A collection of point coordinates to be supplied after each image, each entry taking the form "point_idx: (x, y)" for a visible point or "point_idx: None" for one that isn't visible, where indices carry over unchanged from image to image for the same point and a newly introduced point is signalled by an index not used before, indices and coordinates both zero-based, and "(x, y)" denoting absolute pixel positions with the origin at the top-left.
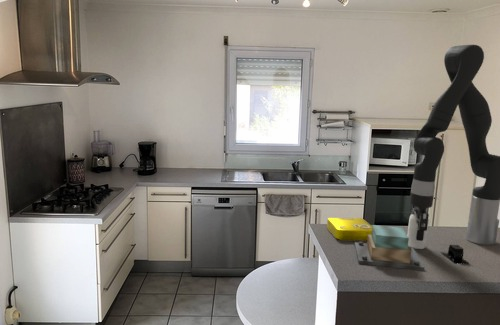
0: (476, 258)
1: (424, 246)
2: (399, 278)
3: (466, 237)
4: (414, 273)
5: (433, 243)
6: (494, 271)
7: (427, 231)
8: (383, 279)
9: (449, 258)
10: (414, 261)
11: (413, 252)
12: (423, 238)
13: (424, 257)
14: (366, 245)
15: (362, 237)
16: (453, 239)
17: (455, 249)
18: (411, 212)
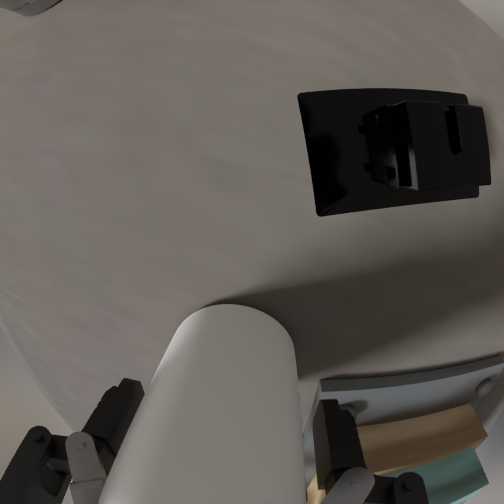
0: (369, 5)
1: (279, 328)
2: (500, 406)
3: (37, 10)
4: (500, 380)
5: (134, 212)
6: (500, 40)
7: (249, 406)
8: (489, 429)
9: (426, 195)
10: (481, 398)
11: (384, 396)
12: (295, 390)
13: (407, 341)
14: (307, 489)
15: None
16: (46, 67)
17: (487, 181)
18: (50, 492)
